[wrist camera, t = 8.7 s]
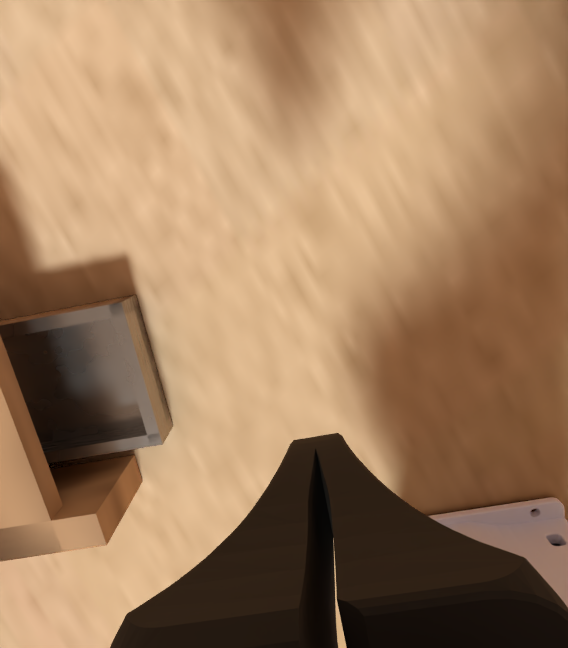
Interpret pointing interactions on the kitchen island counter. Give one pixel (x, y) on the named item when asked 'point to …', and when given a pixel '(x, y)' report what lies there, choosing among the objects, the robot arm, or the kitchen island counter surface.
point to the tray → (88, 379)
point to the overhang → (53, 487)
